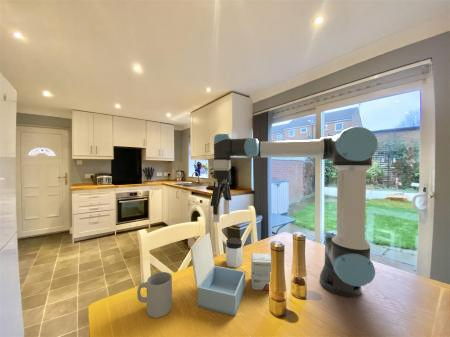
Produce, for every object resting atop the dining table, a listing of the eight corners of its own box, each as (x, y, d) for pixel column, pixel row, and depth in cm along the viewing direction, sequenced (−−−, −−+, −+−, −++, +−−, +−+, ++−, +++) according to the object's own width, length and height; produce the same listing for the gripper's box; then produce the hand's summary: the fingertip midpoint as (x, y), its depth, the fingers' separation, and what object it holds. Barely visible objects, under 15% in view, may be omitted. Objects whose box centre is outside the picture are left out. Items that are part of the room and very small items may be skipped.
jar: (233, 269, 95) (233, 245, 95) (222, 263, 101) (222, 240, 100) (245, 263, 101) (245, 240, 101) (234, 257, 107) (234, 236, 107)
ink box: (270, 279, 87) (270, 253, 87) (272, 291, 79) (273, 262, 79) (250, 277, 88) (251, 252, 88) (251, 289, 80) (251, 261, 79)
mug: (174, 300, 73) (174, 271, 73) (168, 317, 65) (168, 285, 64) (141, 301, 72) (141, 272, 72) (132, 319, 64) (132, 286, 64)
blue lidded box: (245, 288, 81) (245, 271, 81) (235, 316, 65) (235, 295, 65) (214, 281, 85) (214, 265, 85) (197, 306, 70) (197, 287, 70)
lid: (209, 232, 86) (207, 232, 86) (191, 247, 70) (190, 247, 70) (214, 264, 85) (212, 264, 85) (197, 286, 70) (195, 286, 70)
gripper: (223, 169, 98) (222, 210, 98) (202, 170, 74) (201, 225, 75) (237, 169, 96) (237, 212, 96) (220, 170, 72) (220, 227, 72)
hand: (221, 217), depth 85 cm, fingers open, 13 cm apart
